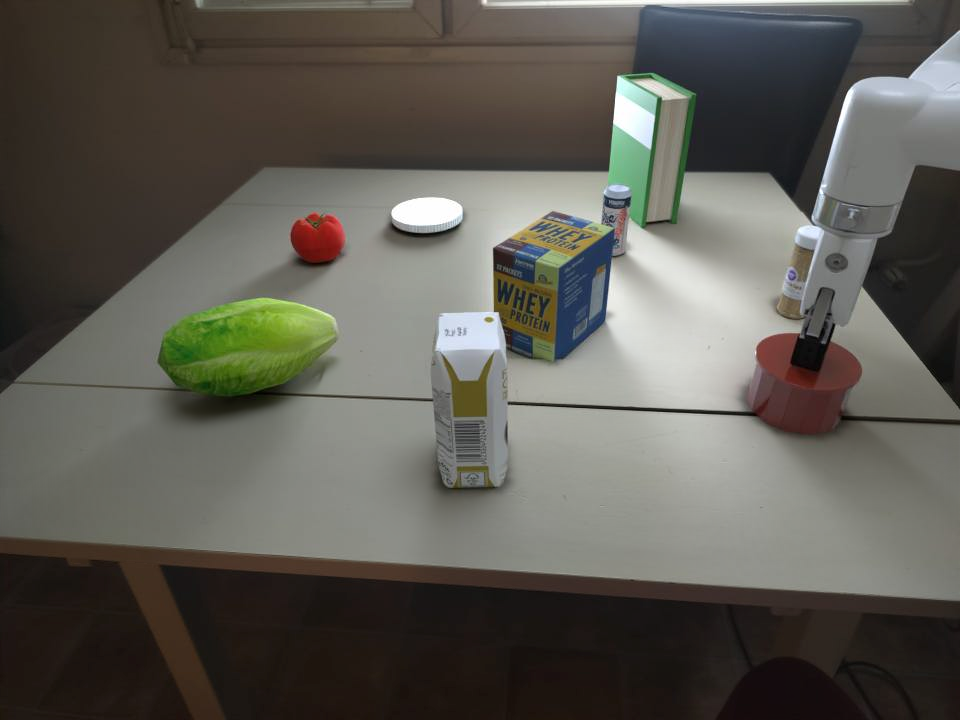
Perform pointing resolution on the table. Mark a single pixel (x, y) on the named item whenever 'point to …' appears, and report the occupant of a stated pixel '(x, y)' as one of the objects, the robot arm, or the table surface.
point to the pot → (795, 405)
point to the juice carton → (470, 399)
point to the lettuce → (245, 346)
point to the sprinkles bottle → (798, 272)
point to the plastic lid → (426, 215)
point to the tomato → (317, 237)
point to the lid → (832, 377)
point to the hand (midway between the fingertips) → (808, 356)
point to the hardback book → (651, 144)
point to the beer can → (617, 214)
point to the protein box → (552, 284)
